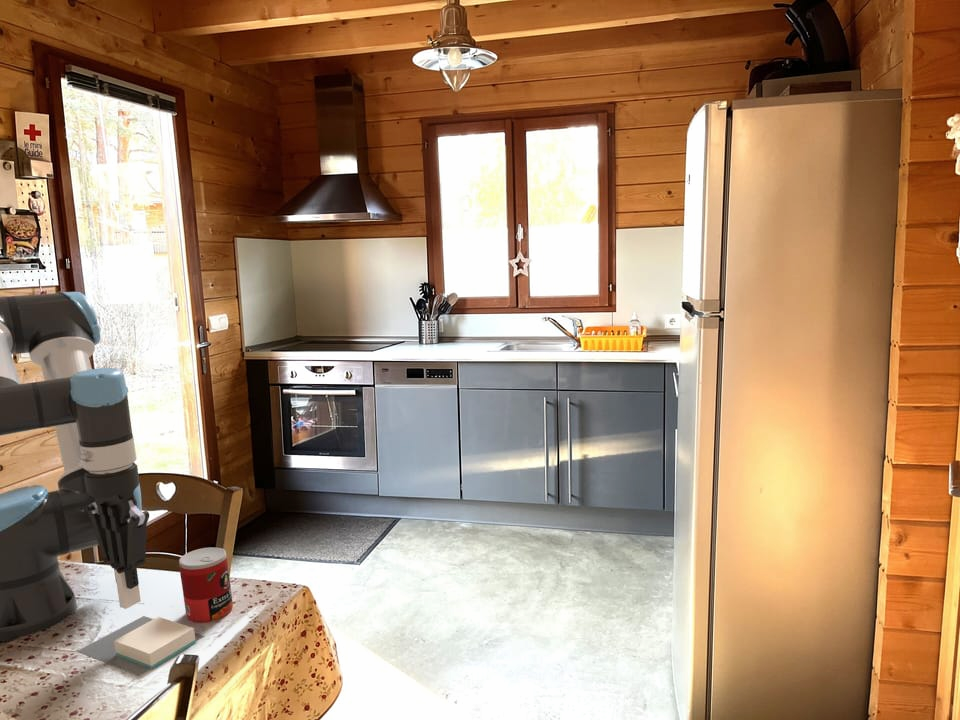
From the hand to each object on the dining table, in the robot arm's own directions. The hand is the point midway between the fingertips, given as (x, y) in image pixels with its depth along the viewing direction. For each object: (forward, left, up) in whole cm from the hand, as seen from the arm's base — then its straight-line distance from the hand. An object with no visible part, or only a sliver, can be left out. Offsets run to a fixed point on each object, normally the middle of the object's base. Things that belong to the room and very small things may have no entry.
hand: (130, 603), depth 116 cm
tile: (+1, 0, -5) cm, 5 cm away
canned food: (+4, +12, -7) cm, 14 cm away
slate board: (+2, 0, -7) cm, 7 cm away
